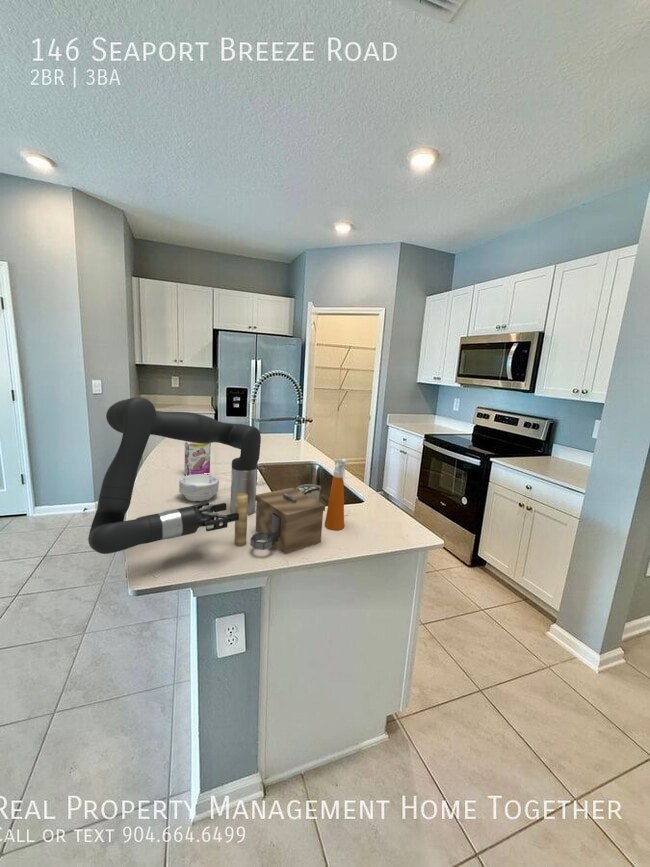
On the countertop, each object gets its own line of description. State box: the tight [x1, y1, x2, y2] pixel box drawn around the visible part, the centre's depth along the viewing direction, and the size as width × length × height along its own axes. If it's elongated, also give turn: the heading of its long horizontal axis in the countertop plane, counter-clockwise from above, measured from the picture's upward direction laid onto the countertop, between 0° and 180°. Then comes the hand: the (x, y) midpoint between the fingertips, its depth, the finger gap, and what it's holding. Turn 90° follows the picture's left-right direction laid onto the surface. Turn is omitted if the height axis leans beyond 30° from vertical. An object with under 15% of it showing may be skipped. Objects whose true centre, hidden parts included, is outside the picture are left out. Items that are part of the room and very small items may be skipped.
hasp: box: [249, 514, 281, 551], centre depth 107 cm, size 7×8×8 cm
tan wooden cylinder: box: [234, 493, 248, 547], centre depth 110 cm, size 4×4×16 cm
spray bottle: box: [324, 458, 348, 531], centre depth 124 cm, size 7×11×26 cm, turn 16°
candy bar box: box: [184, 441, 212, 476], centre depth 172 cm, size 11×5×16 cm, turn 130°
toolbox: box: [255, 487, 326, 555], centre depth 117 cm, size 19×15×14 cm
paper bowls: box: [178, 474, 220, 502], centre depth 145 cm, size 15×15×8 cm
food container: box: [295, 483, 322, 502], centre depth 138 cm, size 12×6×10 cm, turn 141°
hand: (232, 511), depth 107 cm, fingers open, 8 cm apart
